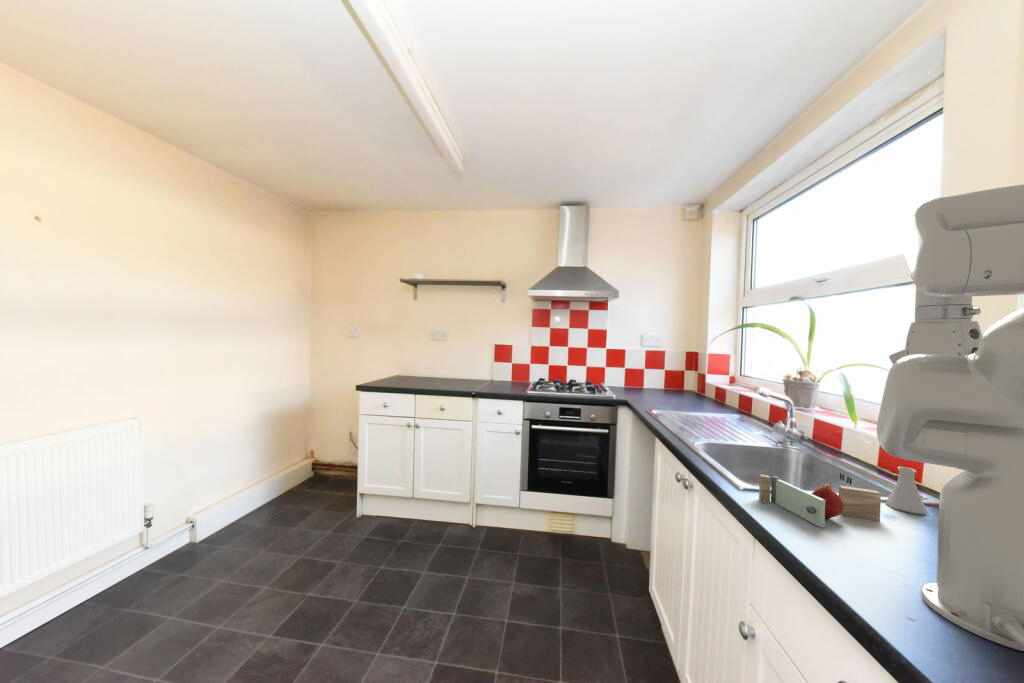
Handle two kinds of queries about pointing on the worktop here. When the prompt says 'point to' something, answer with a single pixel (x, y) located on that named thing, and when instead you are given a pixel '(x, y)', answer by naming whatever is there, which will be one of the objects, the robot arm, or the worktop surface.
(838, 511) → the onion
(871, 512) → the door frame
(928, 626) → the worktop surface
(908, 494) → the flask
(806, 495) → the door
